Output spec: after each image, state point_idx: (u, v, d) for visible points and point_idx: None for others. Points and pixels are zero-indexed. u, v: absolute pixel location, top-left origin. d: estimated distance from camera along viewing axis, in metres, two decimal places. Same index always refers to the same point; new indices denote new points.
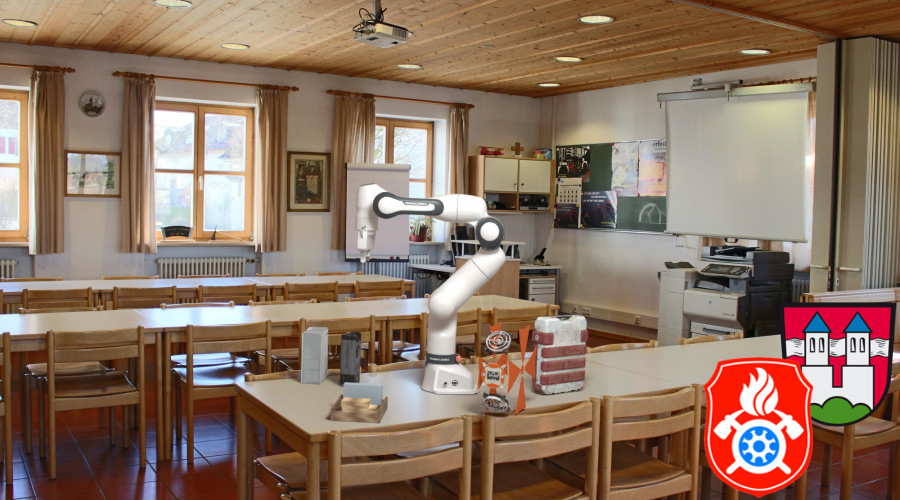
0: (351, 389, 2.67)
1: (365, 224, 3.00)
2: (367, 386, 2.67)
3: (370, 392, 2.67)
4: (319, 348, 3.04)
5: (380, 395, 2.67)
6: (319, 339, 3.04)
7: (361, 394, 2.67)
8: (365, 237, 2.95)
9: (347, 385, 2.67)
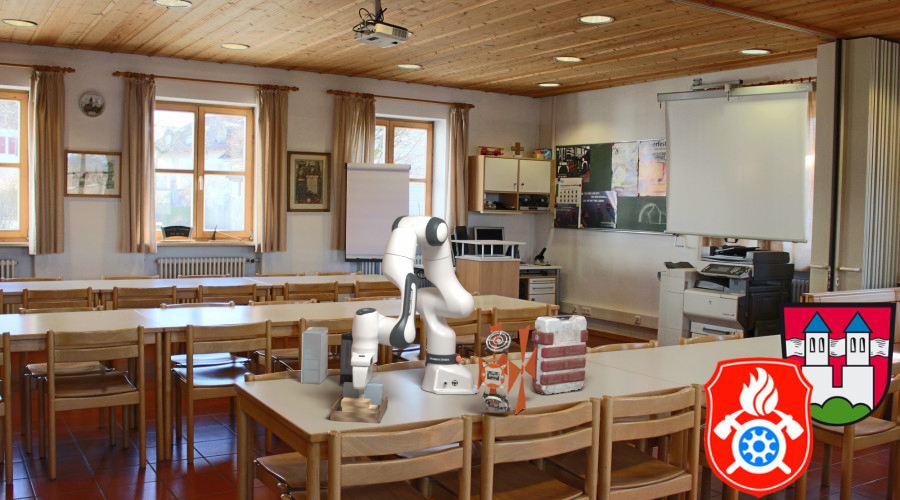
0: (351, 389, 2.67)
1: None
2: (367, 386, 2.67)
3: (370, 392, 2.67)
4: (319, 348, 3.04)
5: (380, 395, 2.67)
6: (319, 339, 3.04)
7: None
8: None
9: (347, 385, 2.67)
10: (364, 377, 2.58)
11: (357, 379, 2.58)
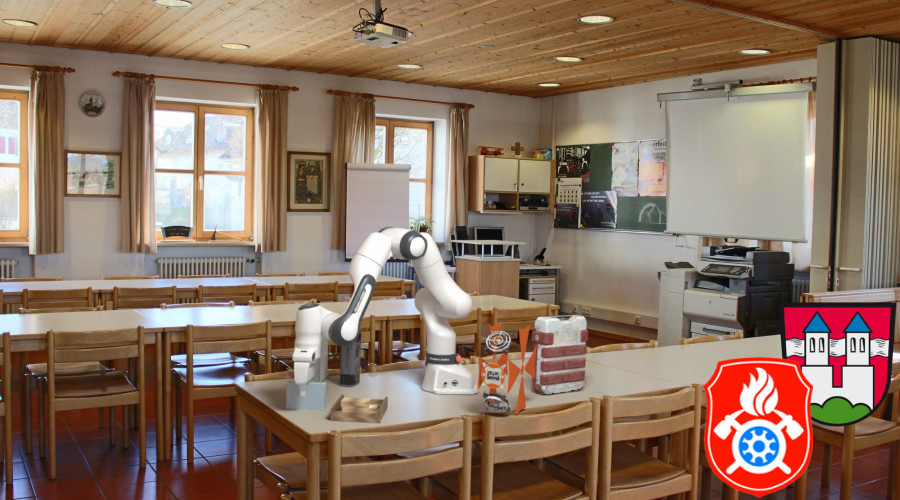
0: (294, 388, 2.66)
1: None
2: (310, 384, 2.66)
3: (313, 390, 2.66)
4: None
5: (323, 393, 2.66)
6: None
7: None
8: None
9: (290, 383, 2.66)
10: (305, 372, 2.57)
11: (298, 375, 2.57)
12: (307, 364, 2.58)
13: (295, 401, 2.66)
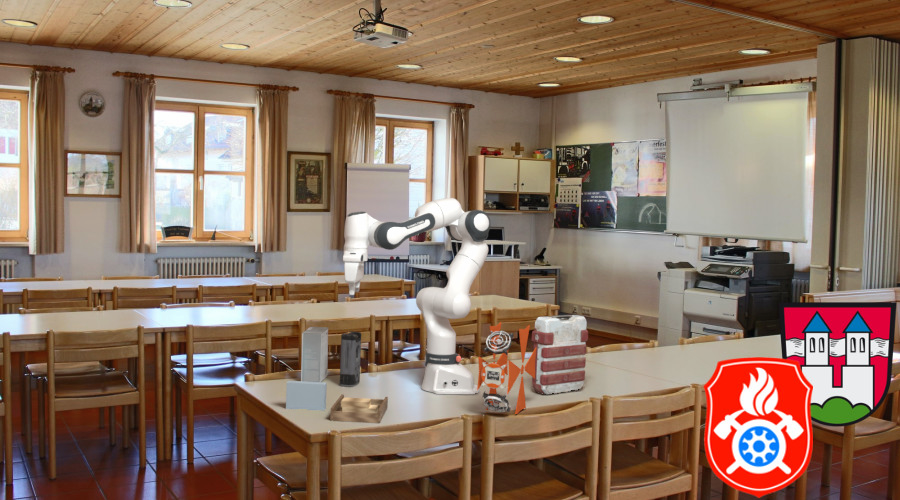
0: (294, 388, 2.66)
1: None
2: (310, 384, 2.66)
3: (313, 390, 2.66)
4: (319, 348, 3.04)
5: (323, 393, 2.66)
6: (319, 339, 3.04)
7: (304, 392, 2.66)
8: None
9: (290, 383, 2.66)
10: (355, 271, 2.80)
11: (348, 274, 2.80)
12: (356, 264, 2.81)
13: (295, 401, 2.66)
